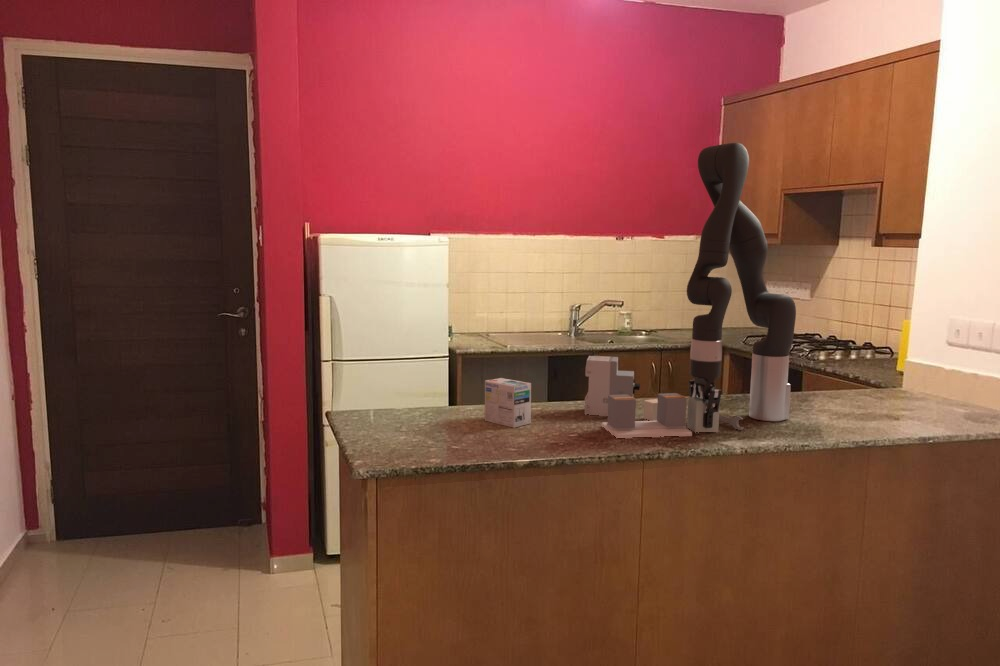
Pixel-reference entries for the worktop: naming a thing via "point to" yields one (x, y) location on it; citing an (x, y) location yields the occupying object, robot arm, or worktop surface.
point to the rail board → (667, 423)
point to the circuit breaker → (606, 383)
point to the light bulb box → (508, 402)
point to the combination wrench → (732, 421)
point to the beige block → (650, 409)
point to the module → (699, 416)
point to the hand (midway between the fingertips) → (702, 424)
